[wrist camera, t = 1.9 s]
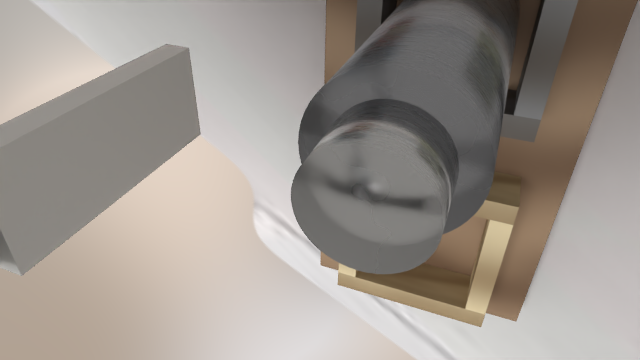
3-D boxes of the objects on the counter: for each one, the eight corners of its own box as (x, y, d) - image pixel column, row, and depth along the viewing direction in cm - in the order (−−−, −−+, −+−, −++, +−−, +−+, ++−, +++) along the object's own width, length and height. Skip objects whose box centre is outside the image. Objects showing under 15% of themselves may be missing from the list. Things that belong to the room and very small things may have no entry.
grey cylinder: (416, -47, 19) (252, 87, 9) (533, -36, 18) (512, 134, 7) (403, 60, 22) (264, 266, 11) (505, 75, 21) (459, 324, 10)
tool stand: (342, -148, 20) (304, -147, 17) (680, -141, 16) (711, -138, 13) (328, 250, 32) (305, 292, 29) (517, 302, 29) (513, 356, 26)
